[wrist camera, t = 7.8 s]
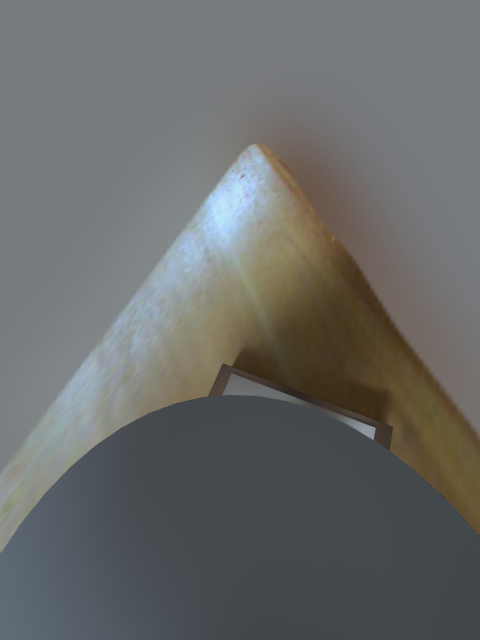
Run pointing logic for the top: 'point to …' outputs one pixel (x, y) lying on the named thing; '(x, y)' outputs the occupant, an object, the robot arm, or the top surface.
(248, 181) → the top surface
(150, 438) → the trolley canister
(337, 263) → the top surface
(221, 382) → the plate
